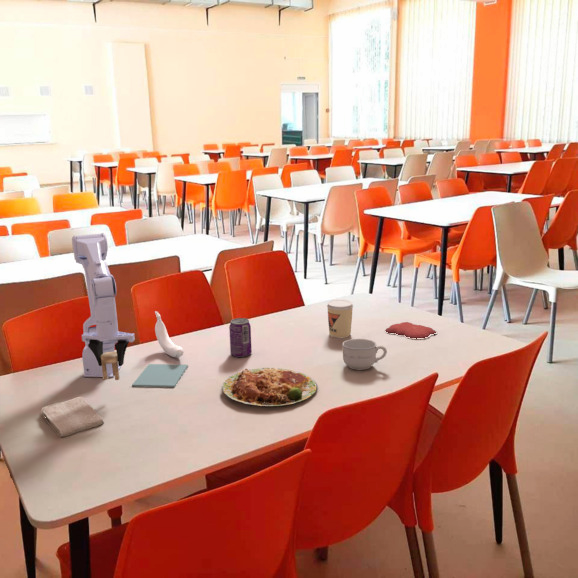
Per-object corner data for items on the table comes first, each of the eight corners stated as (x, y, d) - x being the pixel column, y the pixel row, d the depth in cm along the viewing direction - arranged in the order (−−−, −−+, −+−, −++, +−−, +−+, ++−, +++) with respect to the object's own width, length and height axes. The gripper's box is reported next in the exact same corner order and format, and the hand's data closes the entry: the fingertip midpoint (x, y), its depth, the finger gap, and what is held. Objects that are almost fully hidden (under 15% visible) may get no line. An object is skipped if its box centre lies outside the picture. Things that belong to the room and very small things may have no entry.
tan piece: (100, 381, 174) (97, 358, 172) (107, 374, 179) (104, 351, 177) (118, 381, 174) (115, 358, 172) (124, 374, 179) (122, 351, 177)
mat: (132, 386, 186) (132, 384, 185) (149, 365, 201) (148, 363, 201) (174, 387, 184) (174, 385, 184) (188, 366, 200) (188, 364, 200)
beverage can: (253, 350, 212) (251, 317, 209) (249, 358, 205) (248, 324, 202) (232, 350, 213) (231, 317, 209) (228, 358, 206) (227, 324, 202)
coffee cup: (322, 332, 228) (322, 301, 225) (344, 328, 232) (344, 298, 228) (334, 340, 220) (334, 308, 217) (357, 336, 224) (357, 304, 220)
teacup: (336, 369, 195) (336, 345, 193) (350, 357, 204) (350, 335, 202) (378, 377, 188) (379, 352, 186) (390, 364, 198) (391, 341, 196)
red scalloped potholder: (380, 332, 228) (380, 327, 228) (401, 323, 238) (401, 318, 237) (421, 343, 217) (422, 338, 216) (441, 333, 226) (442, 327, 226)
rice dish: (296, 369, 199) (295, 353, 198) (332, 401, 174) (332, 382, 173) (211, 383, 190) (210, 367, 188) (237, 419, 164) (236, 400, 163)
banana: (178, 366, 200) (175, 323, 196) (152, 349, 215) (148, 309, 211) (191, 362, 203) (188, 320, 199) (165, 346, 218) (161, 306, 214)
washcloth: (81, 402, 177) (80, 392, 176) (106, 425, 163) (104, 415, 162) (38, 415, 170) (37, 405, 169) (61, 440, 156) (59, 429, 155)
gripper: (75, 323, 169) (80, 369, 172) (126, 324, 167) (131, 370, 171) (85, 315, 175) (90, 360, 179) (135, 316, 174) (139, 361, 178)
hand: (111, 364), depth 175 cm, fingers closed on tan piece, 5 cm apart
